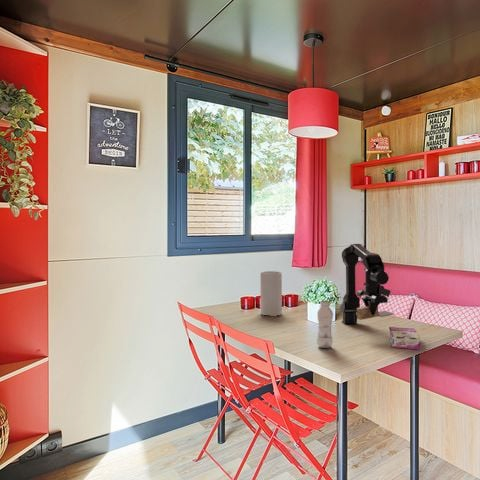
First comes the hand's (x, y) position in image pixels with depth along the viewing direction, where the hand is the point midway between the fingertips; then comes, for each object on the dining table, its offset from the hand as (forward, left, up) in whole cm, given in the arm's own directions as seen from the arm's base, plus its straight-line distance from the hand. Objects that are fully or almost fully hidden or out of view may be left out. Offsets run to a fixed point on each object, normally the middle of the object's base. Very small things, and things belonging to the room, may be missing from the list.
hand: (371, 314), depth 174 cm
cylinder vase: (-36, +53, -11) cm, 65 cm away
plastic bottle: (-26, -10, -11) cm, 30 cm away
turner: (+1, 0, -1) cm, 2 cm away
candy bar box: (+14, -2, -9) cm, 16 cm away
